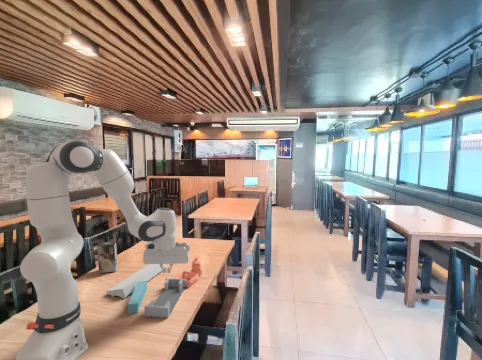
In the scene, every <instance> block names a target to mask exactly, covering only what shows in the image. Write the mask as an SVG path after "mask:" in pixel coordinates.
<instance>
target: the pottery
mask: <svg viewBox="0 0 482 360" xmlns="http://www.w3.org/2000/svg"><path fill="white" fill-rule="evenodd" d="M201 262H202V261H201V260H200V259H199V258H198V257H195V258H194V259H193V260H192V261H191V270H190V271H187V270H183V271H181V272H180V273H178V274H176V276H174V277H173V278H179V279H185V288H188V289H190V288H191V287H192V286H194V284H195V283H197V282H198V281H199V277H200V276H202V275H203V269H202V264H201Z"/></svg>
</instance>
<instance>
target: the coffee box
mask: <svg viewBox="0 0 482 360" xmlns="http://www.w3.org/2000/svg"><path fill="white" fill-rule="evenodd" d="M96 248H97V259H98V260H97V263H98V264H97V265H98V273H99V274H104V273H111V272H117V269H118V267H119V266H118V254H117V253H118V250H117V241H107V242H99V244H98V245H97V247H96Z"/></svg>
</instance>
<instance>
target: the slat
mask: <svg viewBox="0 0 482 360" xmlns="http://www.w3.org/2000/svg"><path fill="white" fill-rule="evenodd" d="M147 289H148V282H147V281H138V283H137V285H136V287H135V290H134V292H133V293H131V296H130V298H129V300H128V303H127V314H128V315H129V314H138V313H139V311H140V308H141V305H142V303H143V300H144V297H145V296H146V292H147V291H148V290H147Z"/></svg>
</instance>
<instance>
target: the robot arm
mask: <svg viewBox="0 0 482 360" xmlns="http://www.w3.org/2000/svg"><path fill="white" fill-rule="evenodd" d="M86 173H91V174H92V175H94V177H95V178H96V179H97V181H98V183H99V184H100V186H101V188H102V189H103V190H104V191H105V193H106V194H107V195H108V196H109V197H110V198H111V199H112V200H113V201H114V203H115V205H117V208H118V209H119V211H120V213H121V214H122V215H123V218H124V222H125V227H126V228H125V229H126V231H127V233H128V234H129V235H131V236H133V237H135V238H137V239H139V240H141V241H142V242H146V244H145V245H144V251H143V257H142V262H143V264H145V265H148V264H160V267H161V269H162V271H161V273H163V274H166V273H167V274H168V273H169V274H170V273H172V267H173V266H174V264H177V265H179V264H188V263H189V261H190V253H189V252H190V251H191V250H190V248H191V247H190V245H189V243H187V242H177V233H176V229H177V220H176V219H177V218H176V213H175V211H174V209H172V208H169V207H158V208H157V209H156V210H155V211H154V212H153V213H151V214H150V215H148V216H147V215H145V214H144V213H142V212H140V211H139V209H138V207H137V206H136V203H135V202H134V200H133V197H132V193H133V191H134V189H135V181H134V179H133V176H132V174H131V173H130V171H129V169H128V167H127V165H126V164H125V163H124V162H123V160H122V159H121V158H120V157H119V155H118V154H117V153H116V152H115V151H114V150H112V149H109V148H102V149H97V148H96V147H94V146H93V145H91V144H89V143H88V142H85V141H83V140H82V141H81V140H73V141H72V140H70V141H64V142H62V143H60V144H58V145H56V146H55V147H54V148H53V149H52V150H51V151H50V153H49V155H48V157H47V159H46V161H44V162H39V163H38V162H37V163H34V164H32V165H31V166H29V167H28V168H27V170H26V174H25V196H26V197H25V199H26V204H27V205H26V206H27V212H28V219H29V223H30V225H31V226H32V227H35V228H36V231H37V232H38V234H39V236H40V239H41V243H40V244H37V245H36V246H35V247H33V248H32V249H31V250H30V251H29V252H28V253H27V254H26V255H25V256H24V258H23V259H22V260H21V263H20V267H19V269H20V273H21V276H22V277H23V278H24V279H25V280H27V281H29V282H31V283H32V285H33V286H34V289H35V292H36V295H37V296H36V297H37V311H38V313H37V315H36V318H35V322H33V321H30V322H28V323H27V324H26V327H25V328H26V330H32V332H31V333H30V335H29V336H28V338H27V340H26V341H25V343H24V344H23V345H22V347H21V348H20V350H18V352H17V354H16V356H15V360H77V359H78V358H79V357H80V356H81V355H83V354H84V353H86V351H87V350H88V349H89V343H88V342H87V338H86V336H85V335H86V334H85V329H84V324H83V321H82V319H81V312H82V311H81V309H82V308H81V307H82V306H81V303H80V301H79V285H78V284H79V283H78V281H77V280H76V279H75V278H74V277H73V274H72V271H71V269H72V268H71V267H72V264H73V262H74V260H76V259H77V258H78V256H79V255H80V254H81V253H82V251H83V250H82V249H83V247H84V243H85V241H84V238H83V236H82V234H80V233H79V232H78V228H77V227H76V224H75V221H74V218H73V214H72V208H71V207H72V206H71V200H70V199H71V198H70V193H69V192H70V191H69V187H68V185H69V179H70V177H71V176H72V175H74V174H75V175H76V174H86ZM163 264H166V265H169V266H170V267H166V268H165V267H164V266H163Z"/></svg>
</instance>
